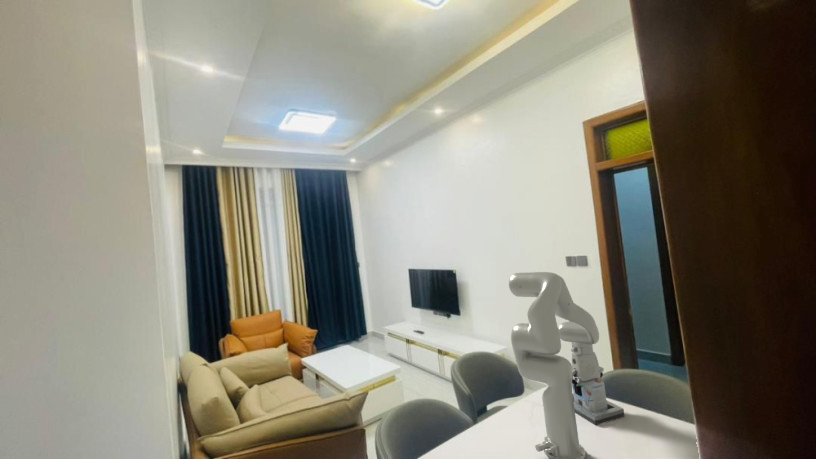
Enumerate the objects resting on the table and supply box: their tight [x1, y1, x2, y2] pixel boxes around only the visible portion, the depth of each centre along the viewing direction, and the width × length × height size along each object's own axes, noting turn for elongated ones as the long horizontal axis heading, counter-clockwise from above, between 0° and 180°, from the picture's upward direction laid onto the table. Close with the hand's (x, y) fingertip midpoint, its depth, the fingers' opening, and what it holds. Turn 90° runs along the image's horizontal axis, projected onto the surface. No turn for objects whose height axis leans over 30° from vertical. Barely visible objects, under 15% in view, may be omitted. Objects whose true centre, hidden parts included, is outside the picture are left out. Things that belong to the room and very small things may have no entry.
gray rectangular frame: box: [572, 393, 625, 426], centre depth 128 cm, size 14×18×3 cm
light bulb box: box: [572, 376, 608, 413], centre depth 128 cm, size 11×7×11 cm, turn 16°
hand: (588, 392), depth 128 cm, fingers open, 9 cm apart
